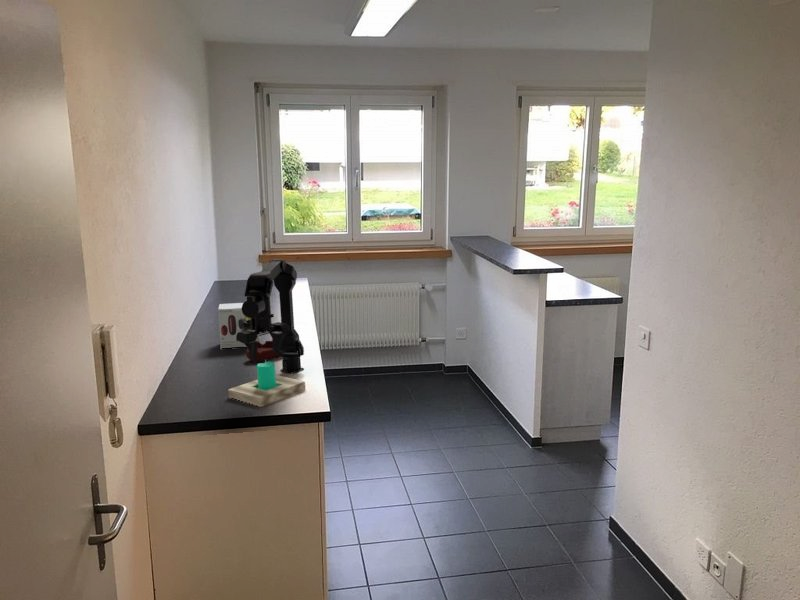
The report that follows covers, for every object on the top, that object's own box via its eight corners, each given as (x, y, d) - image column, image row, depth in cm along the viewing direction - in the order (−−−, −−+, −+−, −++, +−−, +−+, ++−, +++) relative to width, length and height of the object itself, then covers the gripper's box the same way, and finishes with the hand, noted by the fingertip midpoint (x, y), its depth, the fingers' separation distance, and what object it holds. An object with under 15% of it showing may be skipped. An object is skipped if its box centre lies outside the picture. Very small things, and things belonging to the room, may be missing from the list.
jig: (273, 382, 234) (273, 374, 233) (305, 389, 224) (304, 381, 223) (228, 398, 218) (228, 389, 217) (260, 406, 208) (260, 397, 208)
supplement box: (220, 350, 281) (216, 309, 278) (221, 342, 294) (218, 303, 290) (260, 347, 284) (258, 306, 281) (260, 340, 297) (258, 301, 294)
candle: (277, 390, 224) (275, 357, 222) (275, 396, 218) (273, 361, 216) (260, 391, 224) (257, 357, 222) (257, 397, 218) (254, 362, 216)
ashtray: (286, 362, 260) (285, 350, 259) (245, 364, 259) (244, 352, 258) (291, 350, 277) (290, 339, 276) (252, 352, 276) (251, 341, 275)
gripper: (266, 304, 228) (269, 347, 231) (223, 314, 213) (227, 360, 216) (289, 307, 221) (291, 352, 224) (246, 317, 207) (249, 365, 209)
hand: (265, 356), depth 219 cm, fingers open, 9 cm apart
